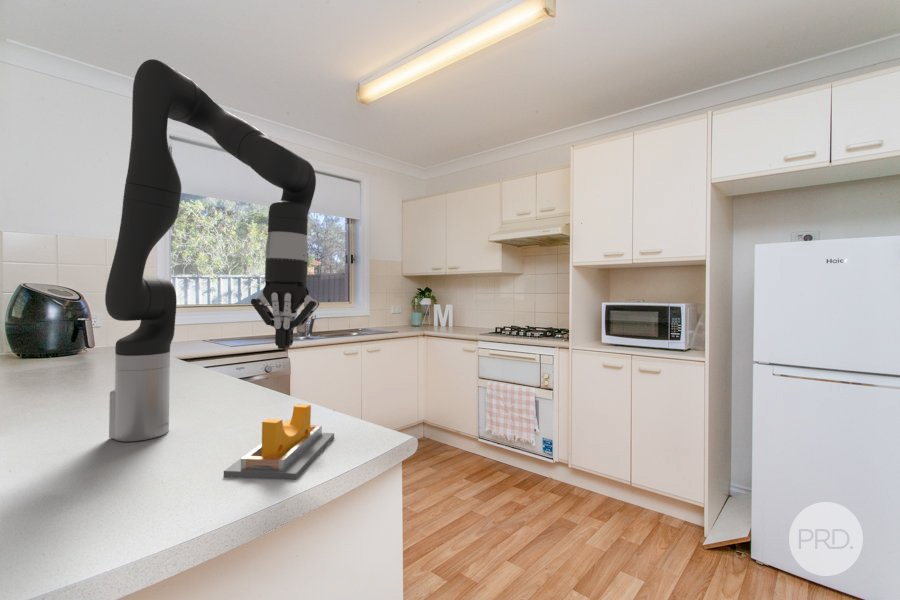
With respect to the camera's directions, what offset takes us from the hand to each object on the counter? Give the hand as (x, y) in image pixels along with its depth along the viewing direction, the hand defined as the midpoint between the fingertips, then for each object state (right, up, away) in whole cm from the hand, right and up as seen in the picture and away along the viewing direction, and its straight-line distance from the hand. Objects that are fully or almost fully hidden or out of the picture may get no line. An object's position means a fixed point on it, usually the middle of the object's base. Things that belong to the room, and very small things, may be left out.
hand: (284, 348), depth 79 cm
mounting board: (+1, -20, -2) cm, 20 cm away
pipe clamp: (+1, -18, -3) cm, 18 cm away
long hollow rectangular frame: (+1, -20, -2) cm, 20 cm away
